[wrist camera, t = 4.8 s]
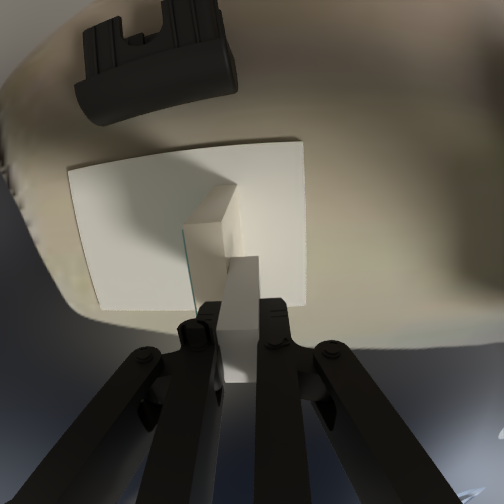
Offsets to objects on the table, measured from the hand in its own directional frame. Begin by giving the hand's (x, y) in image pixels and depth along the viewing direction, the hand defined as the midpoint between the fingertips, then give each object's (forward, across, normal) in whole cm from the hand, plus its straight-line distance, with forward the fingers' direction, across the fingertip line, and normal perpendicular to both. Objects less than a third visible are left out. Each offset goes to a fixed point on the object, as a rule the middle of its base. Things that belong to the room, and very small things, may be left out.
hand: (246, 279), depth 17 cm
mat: (+9, +6, 0) cm, 10 cm away
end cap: (+9, +5, -14) cm, 17 cm away
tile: (+3, +2, 0) cm, 3 cm away
